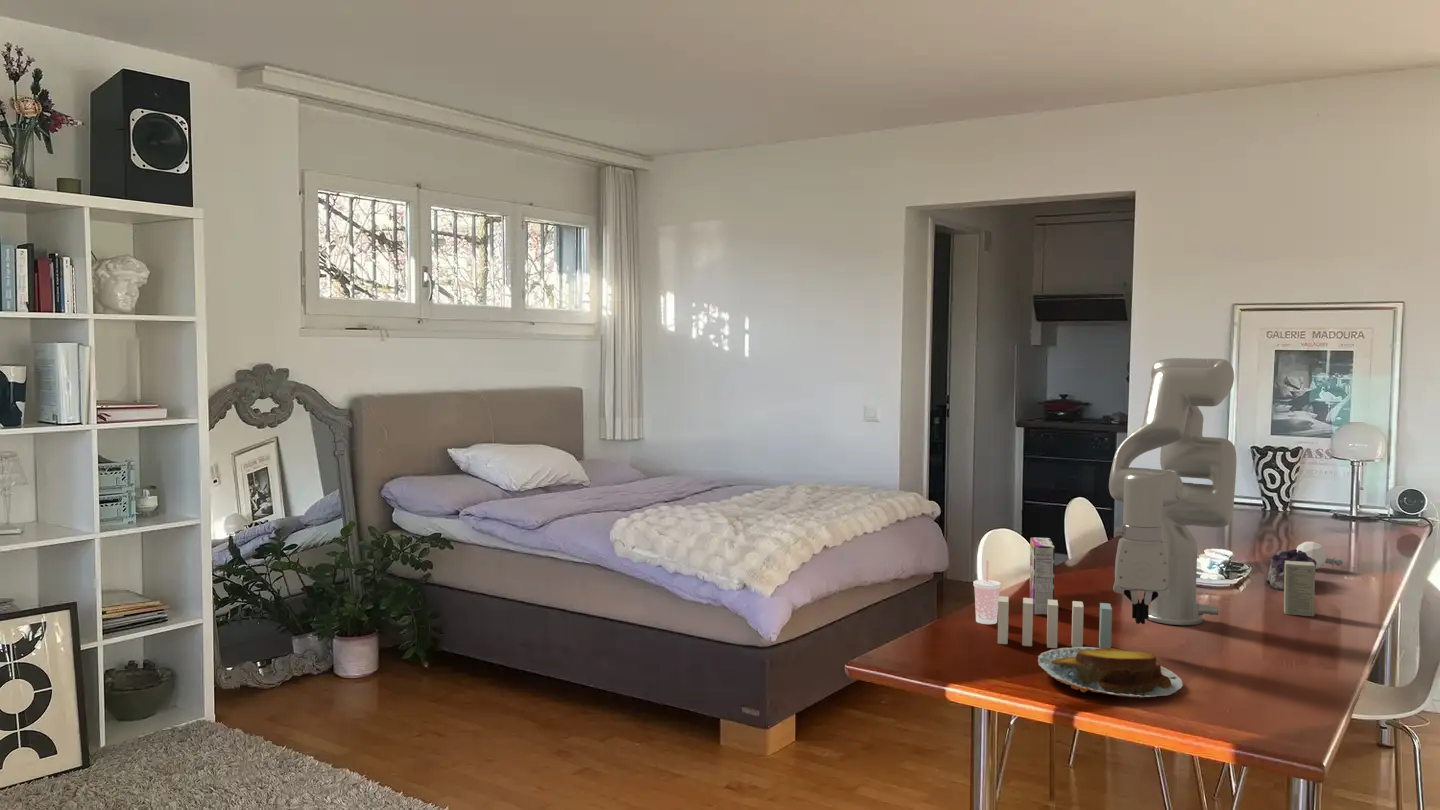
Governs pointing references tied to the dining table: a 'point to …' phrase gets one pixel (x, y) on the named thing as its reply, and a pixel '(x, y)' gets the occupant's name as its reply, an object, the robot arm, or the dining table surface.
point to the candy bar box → (1041, 573)
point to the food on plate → (1110, 671)
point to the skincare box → (1299, 588)
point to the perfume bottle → (1317, 554)
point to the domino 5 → (1105, 625)
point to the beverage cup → (986, 599)
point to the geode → (1278, 566)
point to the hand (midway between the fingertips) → (1139, 622)
